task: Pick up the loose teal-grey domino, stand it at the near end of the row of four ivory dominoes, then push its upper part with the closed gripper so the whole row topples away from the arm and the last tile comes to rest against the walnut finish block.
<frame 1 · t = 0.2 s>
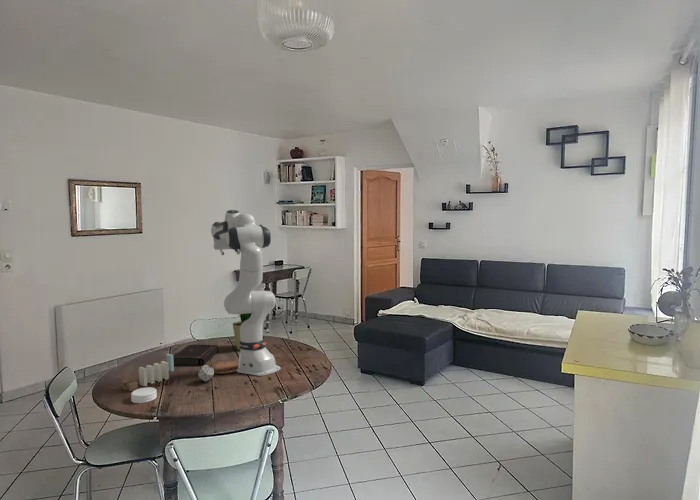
hand: (230, 254, 283), 54 cm above the table, tool tilted 30°, fingers open, 8 cm apart
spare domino: (170, 370, 233), on the table
game die: (206, 381, 216), on the table
potted cactus: (246, 348, 272), on the table
domino 2: (158, 380, 219), on the table
domino 1: (165, 378, 221), on the table
finish block: (130, 388, 208), on the table
domino 3: (150, 382, 216), on the table
domino 4: (143, 385, 213), on the table
coaster: (144, 399, 197), on the table
diary: (195, 359, 252), on the table
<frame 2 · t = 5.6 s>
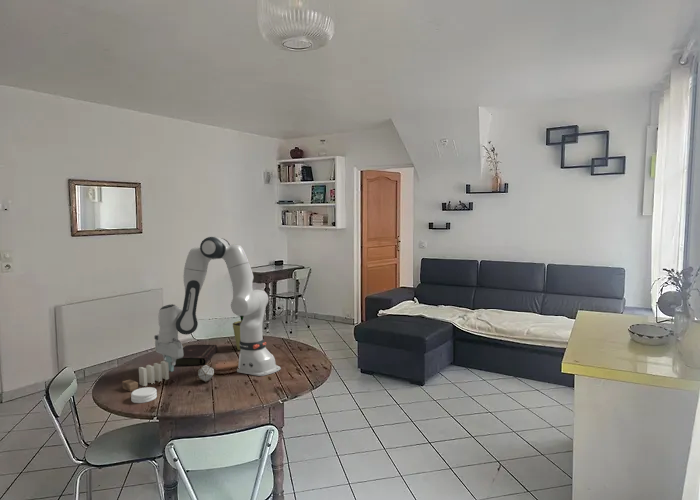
hand: (170, 364, 233), 3 cm above the table, tool pointing down, fingers closed on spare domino, 4 cm apart
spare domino: (170, 370, 233), on the table, touching gripper
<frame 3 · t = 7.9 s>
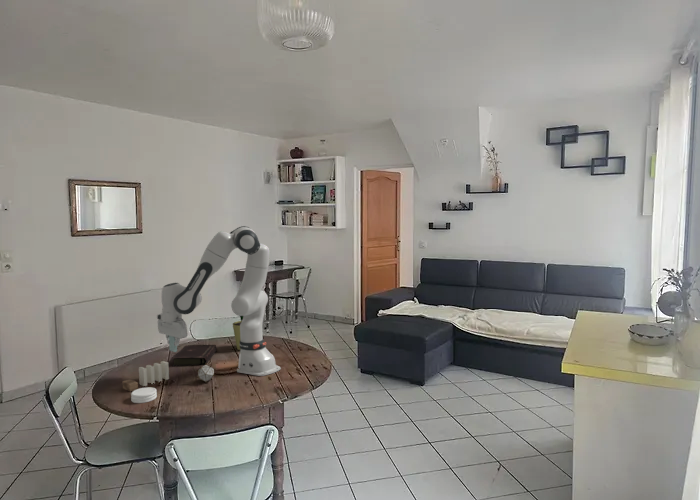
hand: (173, 344, 224), 15 cm above the table, tool pointing down, fingers closed on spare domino, 4 cm apart
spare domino: (173, 350, 224), point 12 cm above the table, touching gripper
everything else where it was.
when the fingers open (4 cm above the table, at t = 10.2 s): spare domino stays where it is, on the table.
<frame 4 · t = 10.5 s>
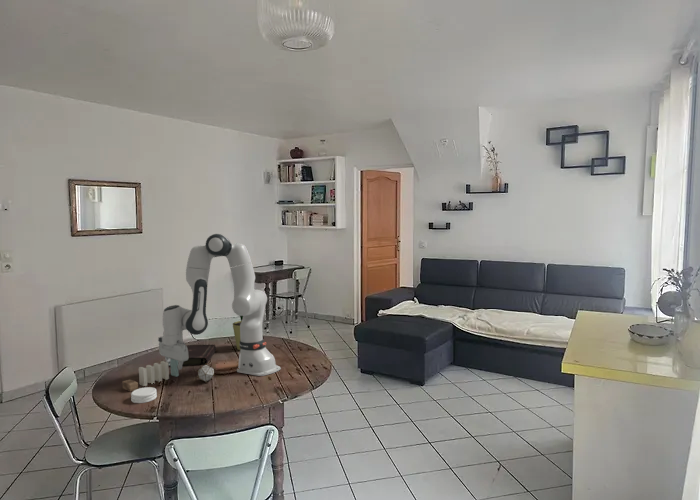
hand: (174, 367, 225), 4 cm above the table, tool pointing down, fingers open, 8 cm apart
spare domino: (174, 375, 225), on the table
everything else where it was.
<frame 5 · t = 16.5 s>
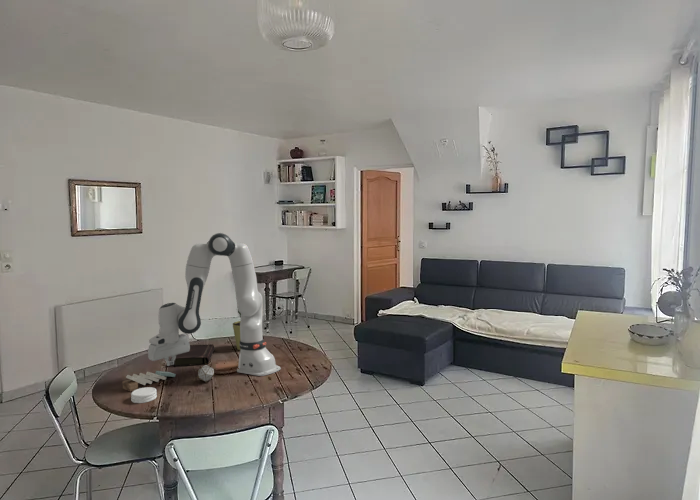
hand: (170, 365, 223), 6 cm above the table, tool pointing down, fingers closed
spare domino: (172, 374, 224), point 1 cm above the table, tilted 69°, touching domino 1
domino 2: (156, 379, 218), point 1 cm above the table, tilted 58°, touching domino 1, domino 3
domino 1: (163, 377, 221), point 1 cm above the table, tilted 62°, touching domino 2, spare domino
domino 3: (149, 381, 215), point 1 cm above the table, tilted 54°, touching domino 2, domino 4
domino 4: (143, 383, 213), point 1 cm above the table, tilted 54°, touching domino 3, finish block
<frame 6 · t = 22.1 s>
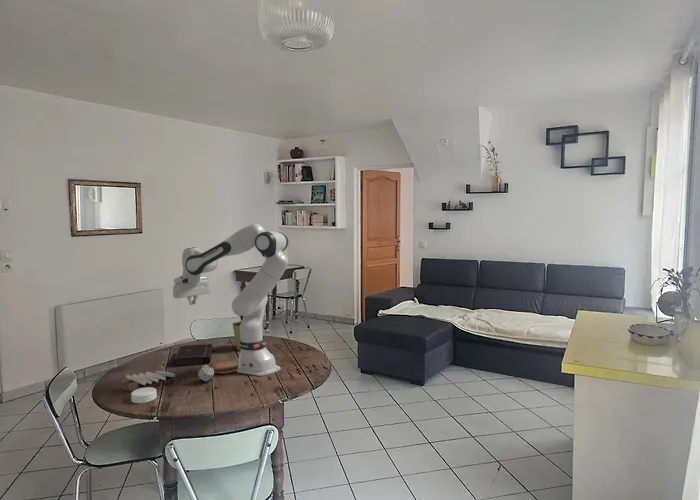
hand: (192, 304, 243), 31 cm above the table, tool pointing down, fingers closed
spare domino: (172, 374, 224), point 1 cm above the table, tilted 68°
domino 1: (163, 377, 220), point 1 cm above the table, tilted 61°, touching domino 2
at the end: domino 4 tilted 54°; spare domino tilted 68° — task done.
